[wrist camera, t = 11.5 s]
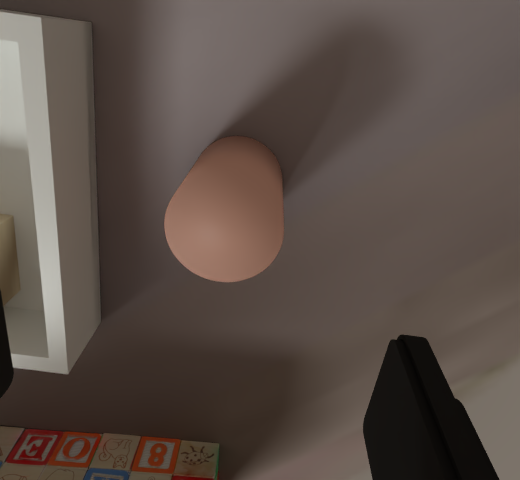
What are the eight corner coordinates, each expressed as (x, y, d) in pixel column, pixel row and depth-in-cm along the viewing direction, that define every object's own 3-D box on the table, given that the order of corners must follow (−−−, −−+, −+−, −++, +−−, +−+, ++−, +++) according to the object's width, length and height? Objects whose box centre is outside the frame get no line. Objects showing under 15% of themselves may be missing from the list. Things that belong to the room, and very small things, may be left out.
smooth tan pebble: (275, 226, 25) (274, 289, 19) (191, 215, 25) (162, 274, 19) (289, 142, 23) (293, 181, 17) (197, 129, 23) (166, 163, 17)
